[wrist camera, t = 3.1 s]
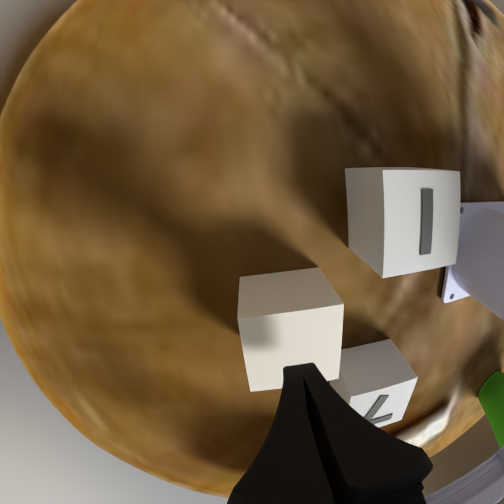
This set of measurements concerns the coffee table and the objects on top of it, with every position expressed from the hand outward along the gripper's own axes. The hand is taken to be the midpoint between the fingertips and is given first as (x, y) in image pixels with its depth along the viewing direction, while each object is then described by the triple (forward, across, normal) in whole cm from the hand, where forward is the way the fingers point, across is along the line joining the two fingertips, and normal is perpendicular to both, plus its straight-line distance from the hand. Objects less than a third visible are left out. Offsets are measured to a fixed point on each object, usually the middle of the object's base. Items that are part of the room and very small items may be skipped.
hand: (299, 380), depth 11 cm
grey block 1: (+7, -7, -6) cm, 12 cm away
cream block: (+7, 0, 0) cm, 7 cm away
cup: (+7, -30, +20) cm, 37 cm away
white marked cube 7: (+7, -6, +7) cm, 12 cm away
